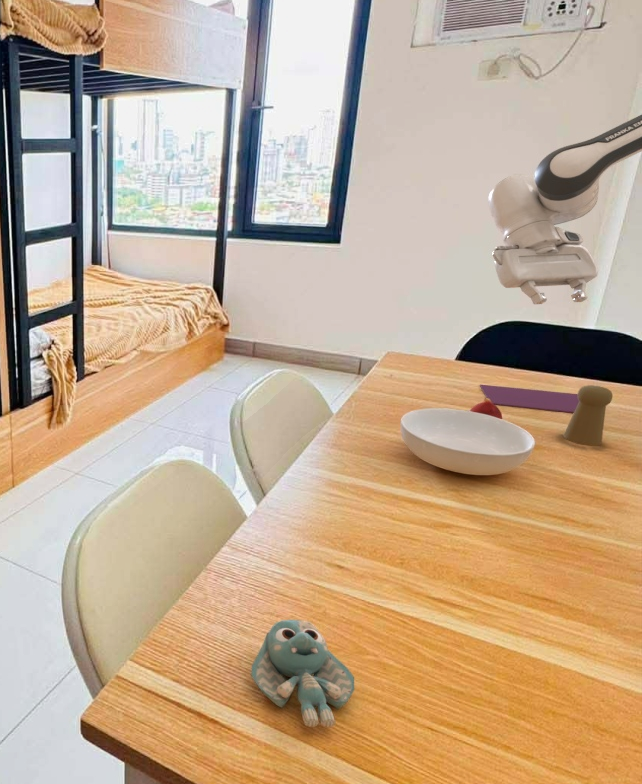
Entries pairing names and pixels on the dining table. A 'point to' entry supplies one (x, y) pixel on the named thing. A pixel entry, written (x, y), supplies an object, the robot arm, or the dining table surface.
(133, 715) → the dining table surface
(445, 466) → the serving bowl
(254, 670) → the stuffed animal
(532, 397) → the plum cloth
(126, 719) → the dining table surface
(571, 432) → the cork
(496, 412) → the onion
